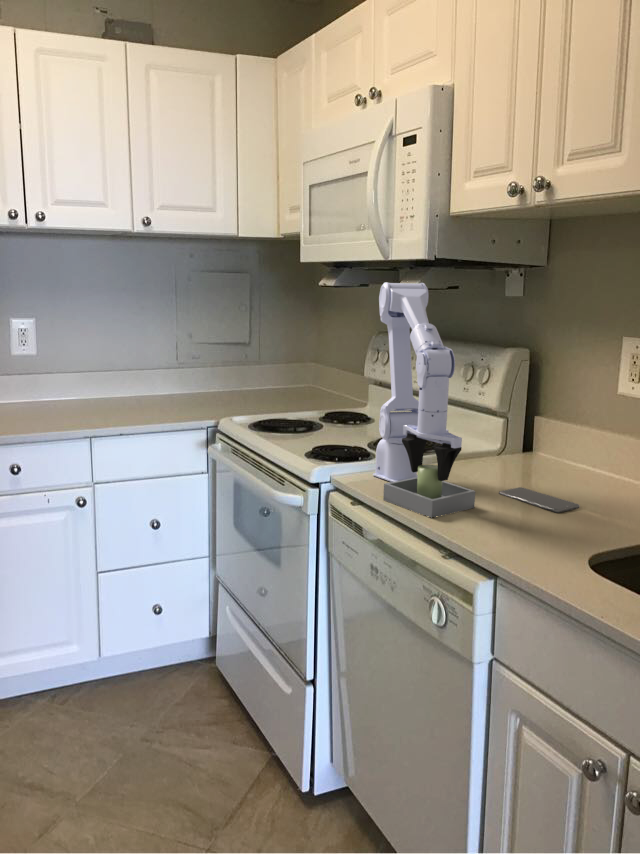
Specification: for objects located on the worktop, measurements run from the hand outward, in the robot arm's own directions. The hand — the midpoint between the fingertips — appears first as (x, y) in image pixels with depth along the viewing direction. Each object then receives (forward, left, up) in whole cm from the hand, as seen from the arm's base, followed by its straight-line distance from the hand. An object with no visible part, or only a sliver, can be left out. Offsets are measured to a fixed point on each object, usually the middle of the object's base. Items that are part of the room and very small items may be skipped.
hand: (429, 475), depth 148 cm
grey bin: (0, 0, -6) cm, 6 cm away
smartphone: (+11, +21, -7) cm, 25 cm away
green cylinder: (0, 0, -5) cm, 5 cm away
